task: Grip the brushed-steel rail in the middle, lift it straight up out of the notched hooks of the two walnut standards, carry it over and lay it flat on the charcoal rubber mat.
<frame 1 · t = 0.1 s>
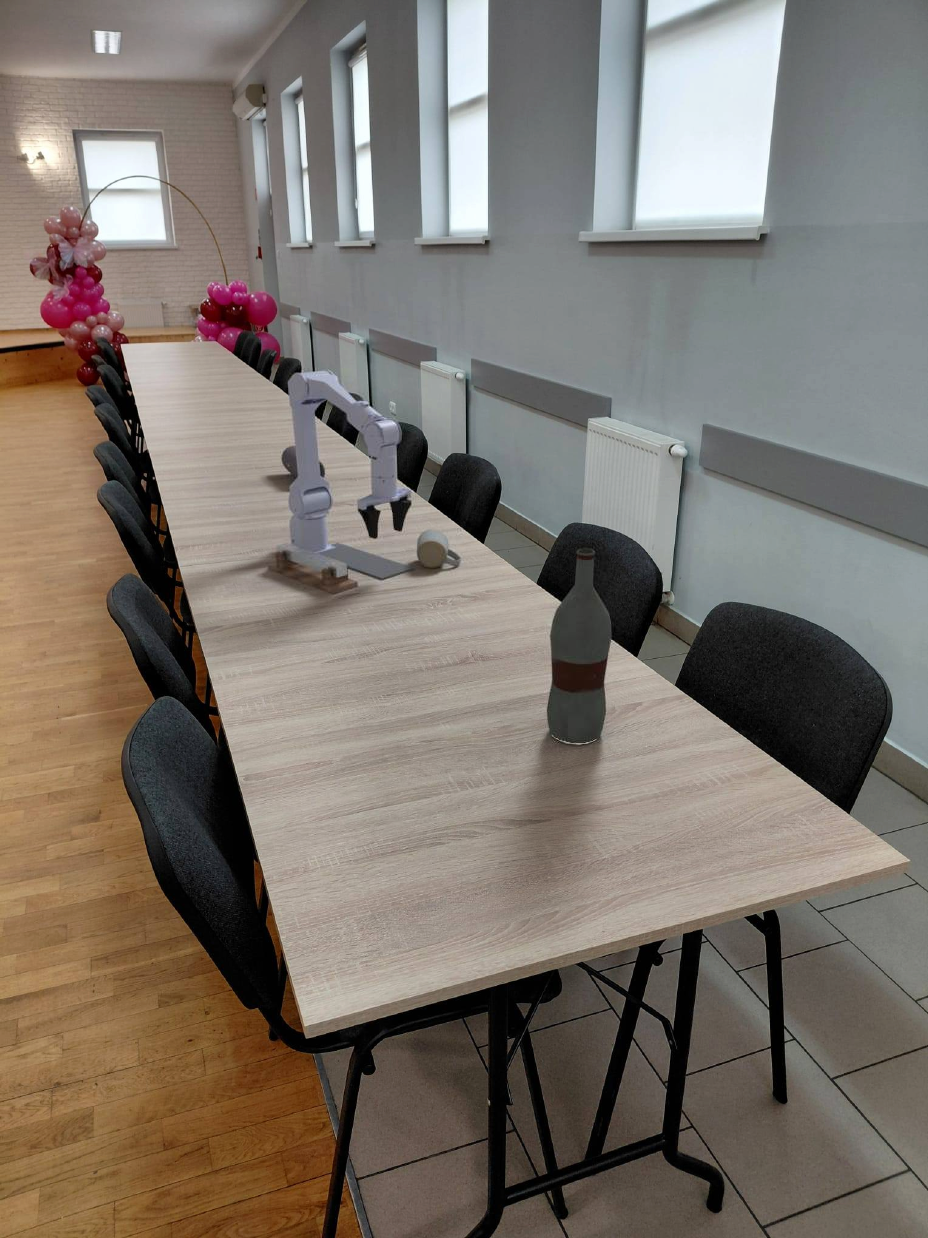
hand: (385, 534, 204), 10 cm above the table, fingers open, 7 cm apart
bluetooth speaker: (303, 481, 291), on the table
walnut standards: (312, 577, 207), on the table
ceramic mug: (438, 564, 216), on the table
steel rail: (311, 564, 206), point 3 cm above the table, touching walnut standards
bottle: (574, 733, 141), on the table
rubber mat: (358, 561, 218), on the table
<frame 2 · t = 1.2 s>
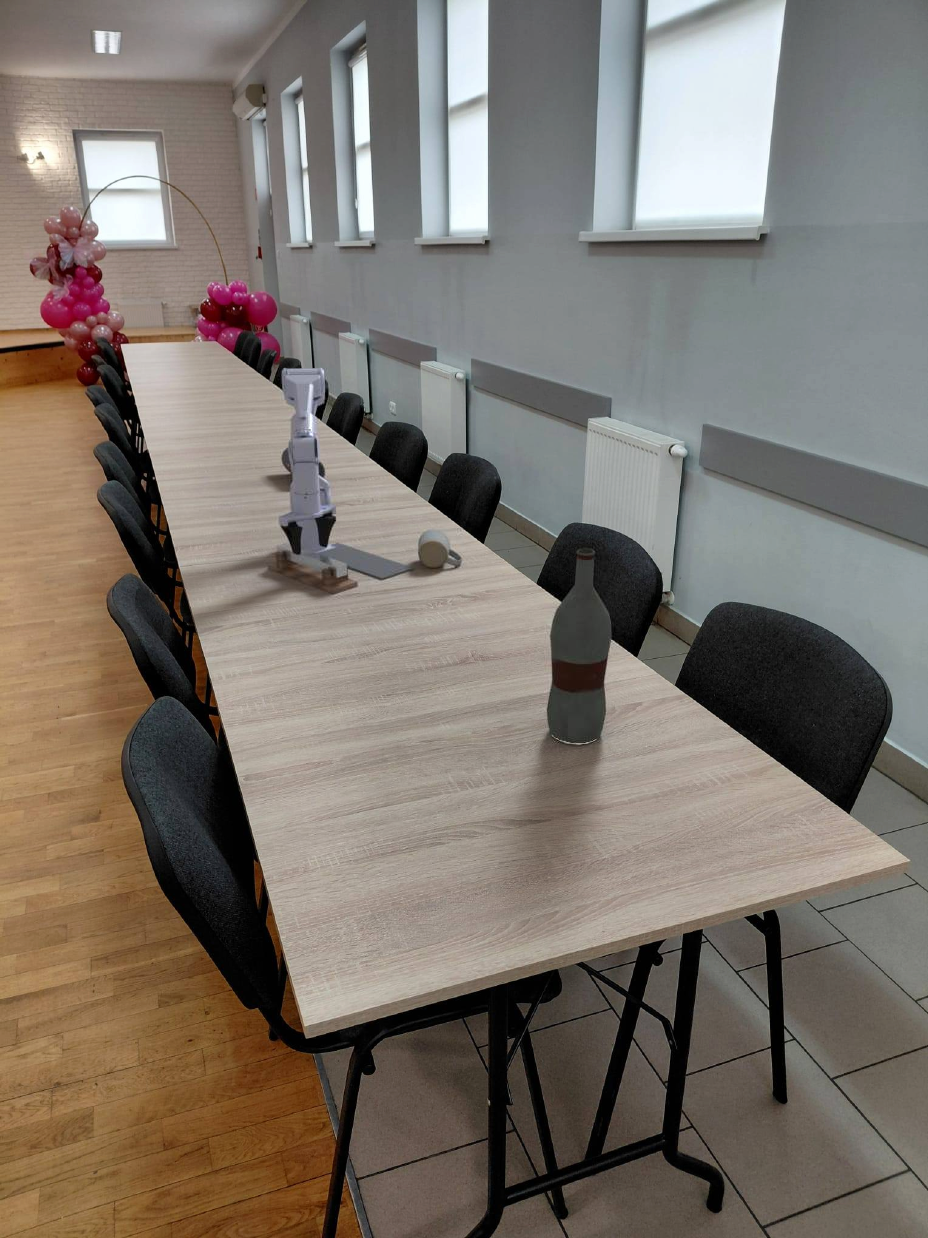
hand: (310, 550, 204), 7 cm above the table, fingers open, 7 cm apart
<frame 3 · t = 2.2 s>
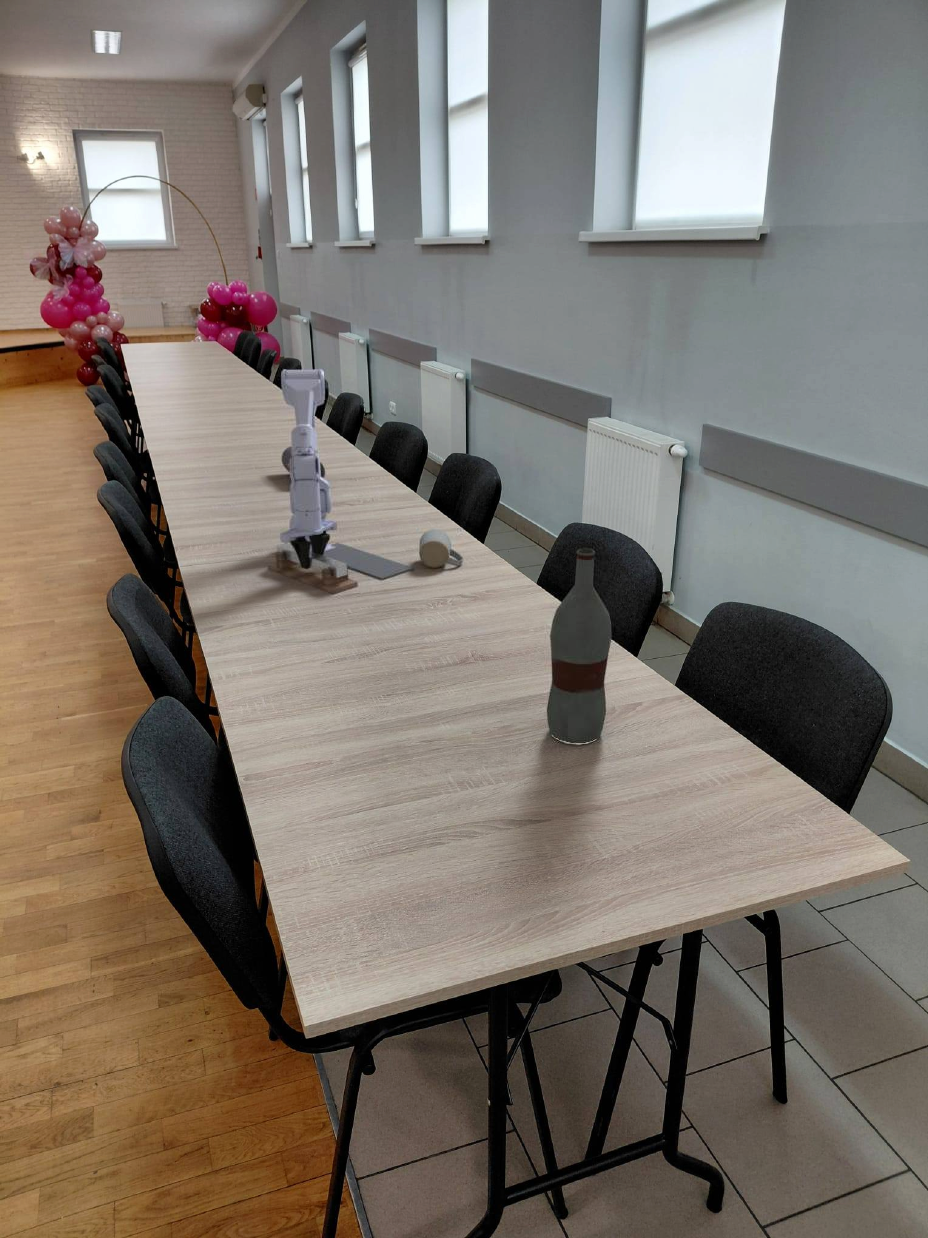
hand: (311, 566, 206), 3 cm above the table, fingers closed on steel rail, 3 cm apart
steel rail: (311, 564, 206), point 3 cm above the table, touching gripper, walnut standards
everything else where it was.
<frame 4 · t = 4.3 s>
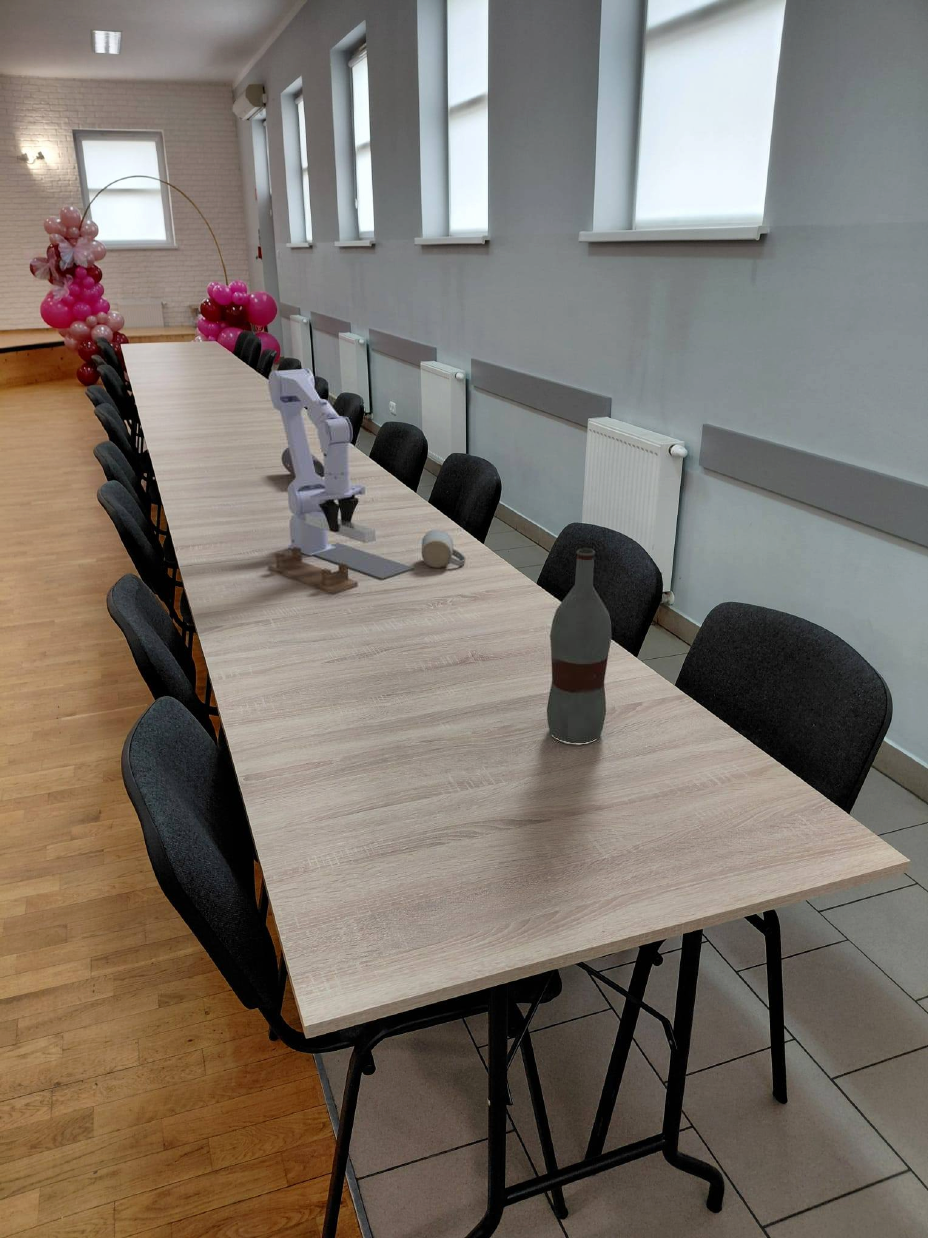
hand: (339, 529, 209), 9 cm above the table, fingers closed on steel rail, 3 cm apart
steel rail: (339, 531, 209), point 9 cm above the table, touching gripper
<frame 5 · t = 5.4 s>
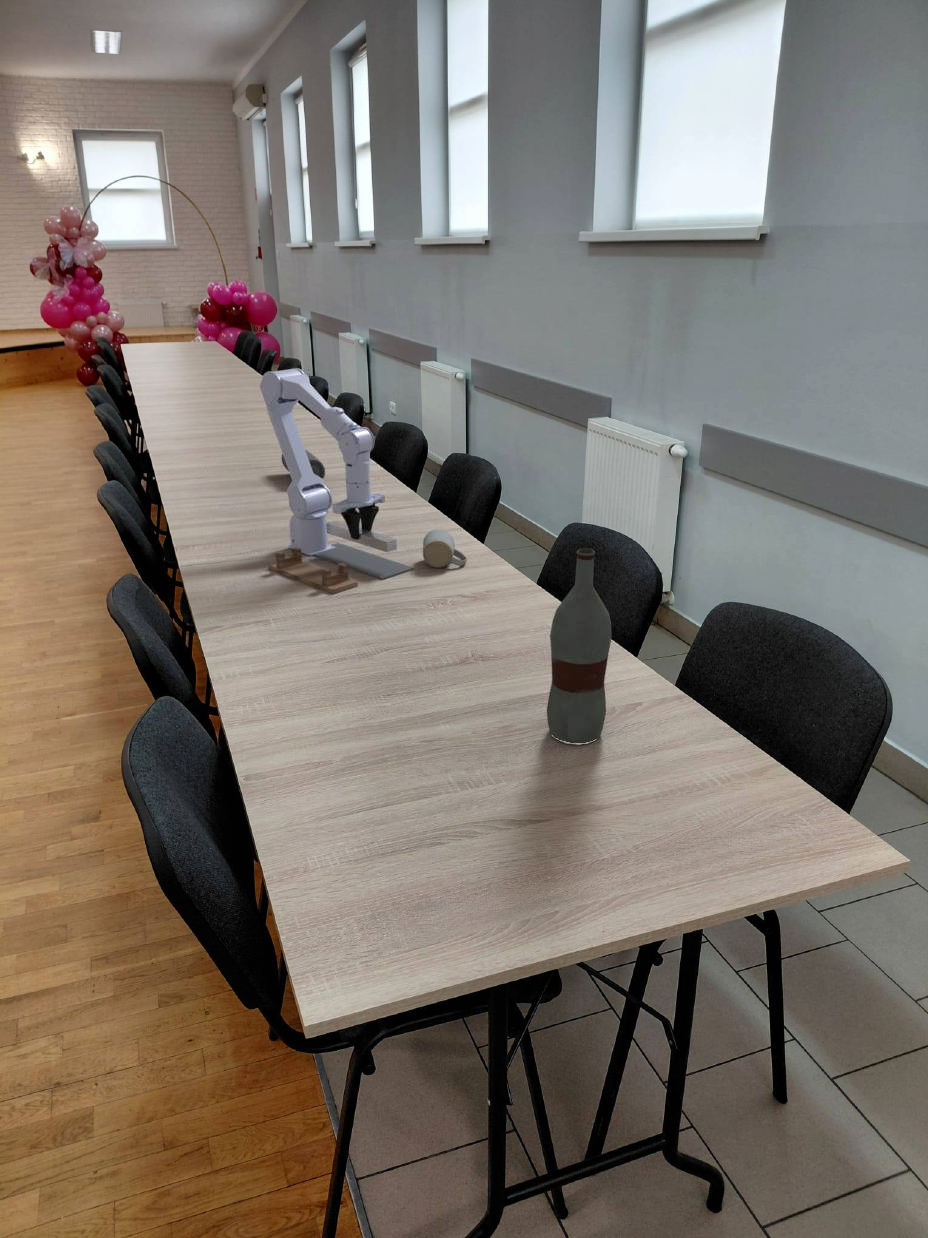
hand: (360, 537, 215), 6 cm above the table, fingers closed on steel rail, 3 cm apart
steel rail: (360, 540, 215), point 5 cm above the table, touching gripper
when the fingers open (2 cm above the table, at t = 6.5 s): steel rail stays where it is, resting on rubber mat.
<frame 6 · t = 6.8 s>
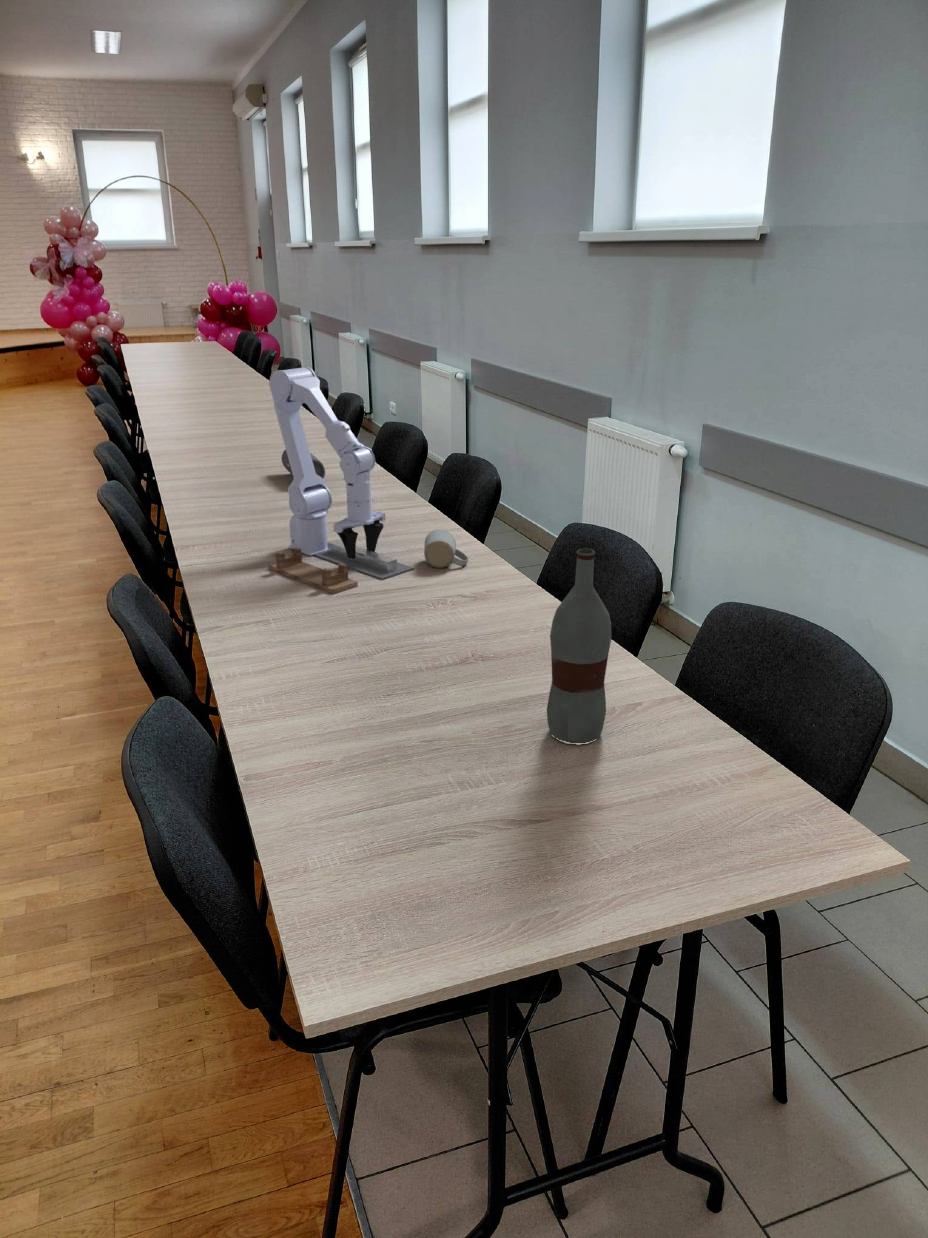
hand: (361, 554, 216), 2 cm above the table, fingers open, 6 cm apart
steel rail: (361, 560, 217), resting on rubber mat
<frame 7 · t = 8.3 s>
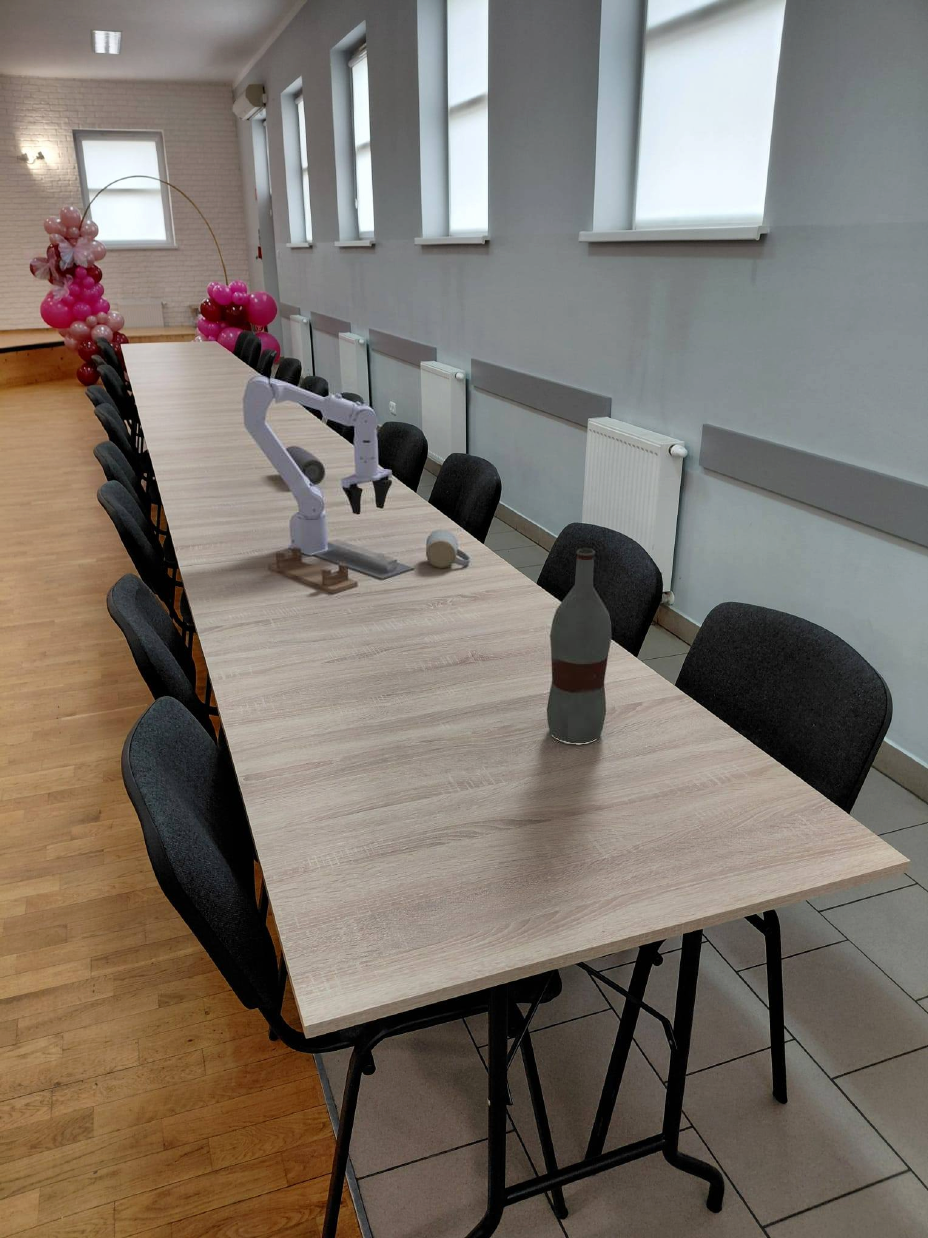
hand: (368, 510, 225), 9 cm above the table, fingers open, 7 cm apart
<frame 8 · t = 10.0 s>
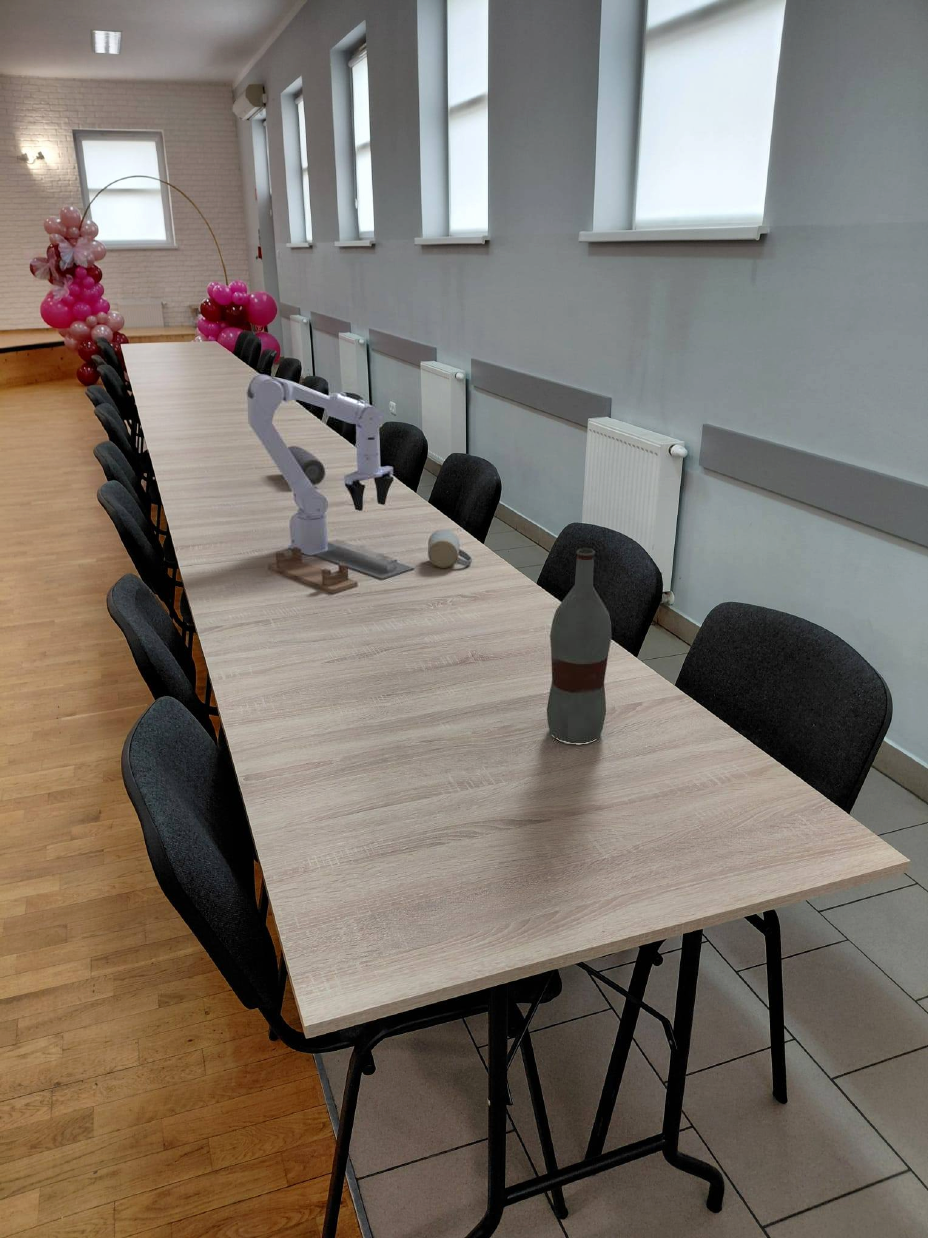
hand: (370, 506, 228), 9 cm above the table, fingers open, 7 cm apart
at the end: steel rail inside the target area on the rubber mat (1.0 cm from its centre), point 0.4 cm above the rubber mat's base; steel rail tilted 0°; the gripper is holding nothing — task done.
